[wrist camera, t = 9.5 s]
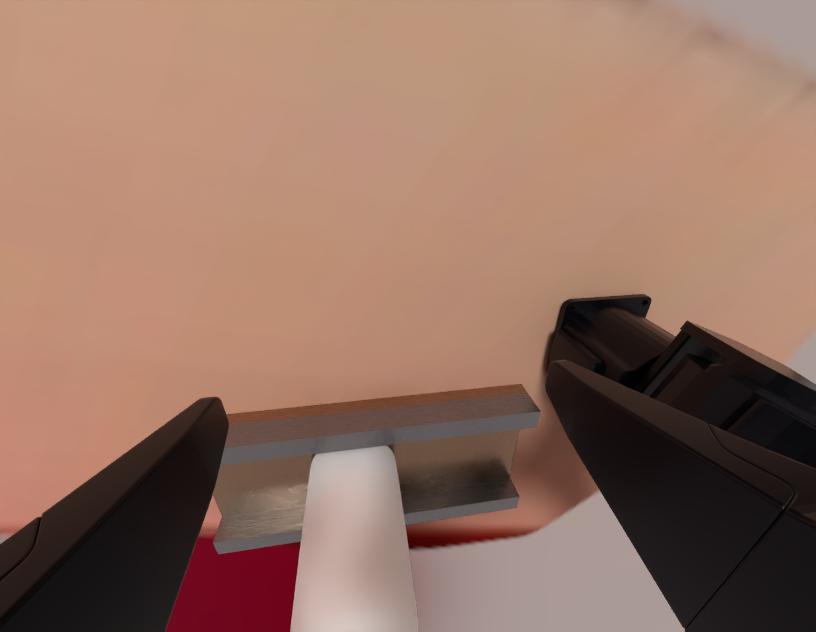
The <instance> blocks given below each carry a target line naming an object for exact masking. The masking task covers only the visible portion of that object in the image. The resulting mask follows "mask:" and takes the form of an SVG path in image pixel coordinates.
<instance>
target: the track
mask: <svg viewBox="0 0 816 632" xmlns="http://www.w3.org/2000/svg"><path fill="white" fill-rule="evenodd" d="M539 415H540V410H539V409H538V407H537V406H536V404H535V403H534V402H533V400H532V399H531V397H530V396H529V394H528V393H527V392H526V390H525V389H524V387H523V386H522V384H518V385H508V386H499V387H489V388H479V389H470V390H460V391H450V392H441V393H431V394H421V395H412V396H402V397H392V398H383V399H373V400H363V401H354V402H344V403H334V404H325V405H315V406H305V407H296V408H286V409H276V410H267V411H257V412H247V413H238V414H228V415H227V418H228V421H229V429H228V434H227V438H226V443H225V447H224V451H223V456H222V460H221V465H220V469H219V473H218V478H217V482H216V485H215V489H214V492H213V496H214V498H215V501H216V503H217V505H218V508H219V510H220V512H221V515H222V518H221V521H220V524H219V527H218V530H217V533H216V536H215V539H214V542H213V544H214V546H215V548H216V550H217V552H218V554H223V553H229V552H236V551H242V550H249V549H255V548H262V547H268V546H274V545H281V544H287V543H294V542H300V541H301V537H302V529H303V521H304V513H305V505H306V497H307V489H308V481H309V474H310V467H311V463H312V460H313V458H314V457H315V455H316V454H321V453H329V452H337V451H345V450H354V449H362V448H370V447H378V446H386V445H387V446H388V447H389V448H390V449H391V450H392V452H393V454H394V456H395V460H396V465H397V472H398V478H399V485H400V492H401V499H402V506H403V513H404V520H405V525H409V524H416V523H422V522H429V521H435V520H442V519H448V518H454V517H461V516H467V515H474V514H480V513H487V512H493V511H499V510H506V509H512V508H517V504H518V500H519V495H518V493H517V491H516V489H515V487H514V485H513V482H512V480H511V478H510V476H509V475H510V470H511V466H512V461H513V456H514V452H515V447H516V442H517V438H518V433H519V429H525V428H533V427H537V424H538V419H539Z"/></svg>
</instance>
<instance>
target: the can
mask: <svg viewBox="0 0 816 632" xmlns="http://www.w3.org/2000/svg"><path fill="white" fill-rule="evenodd" d="M418 628H419V627H418V614H417V605H416V598H415V591H414V583H413V576H412V569H411V562H410V555H409V548H408V541H407V534H406V526H405V520H404V513H403V506H402V499H401V492H400V485H399V478H398V472H397V465H396V460H395V456H394V454H393V452H392V450H391V449H390V448H389V447H388V446H387V445H386V446H378V447H370V448H362V449H354V450H345V451H337V452H329V453H321V454H316V455H315V457H314V458H313V460H312V463H311V467H310V474H309V481H308V489H307V497H306V505H305V513H304V521H303V529H302V537H301V546H300V554H299V562H298V570H297V579H296V587H295V596H294V604H293V612H292V621H291V631H290V632H418Z"/></svg>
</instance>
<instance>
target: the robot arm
mask: <svg viewBox="0 0 816 632" xmlns="http://www.w3.org/2000/svg"><path fill="white" fill-rule="evenodd" d="M642 301H643V302H642ZM650 304H651V298H650V297H649V296H647V295H644V294H639V295H624V296H610V297H595V298H580V299H569V300H567V301H565V302H564V303H563V306H562V309H561V313H560V317H559V322H558V326H557V330H556V332H555V336H554V340H553V345H552V349H551V353H550V357H549V363H548V367H547V379H546V384H545V387H546V392H547V394H548V396H549V398H550V400H551V403H552V405H553V407H554V409H555V411H556V413H557V415H558V417H559V419H560V422H561V424H562V426H563V428H564V430H565V432H566V434H567V436H568V438H569V440H570V441H571V443H572V445H573V447H574V448H575V450H576V452H577V453H578V455H579V457H580V458H581V460H582V462H583V463H584V465H585V466H586V468H587V470H588V471H589V473H590V475H591V476H592V478H593V480H594V481H595V483H596V485H597V486H598V488H599V490H600V491H601V493H602V495H603V496H604V498H605V499H606V501H607V503H608V504H609V506H610V508H611V509H612V511H613V513H614V514H615V516H616V518H617V519H618V521H619V523H620V524H621V526H622V527H623V529H624V531H625V532H626V534H627V536H628V537H629V539H630V541H631V542H632V544H633V546H634V547H635V549H636V551H637V552H638V554H639V556H640V557H641V559H642V560H643V562H644V564H645V565H646V567H647V569H648V571H649V572H650V574H651V575H652V577H653V579H654V580H655V582H656V584H657V585H658V587H659V589H660V590H661V592H662V594H663V595H664V597H665V599H666V600H667V602H668V604H669V605H670V607H671V609H672V610H673V612H674V613H675V615H676V617H677V618H678V620H679V622H680V623H681V625H682V627H683V628H685V632H816V384H814V383H813V382H811V381H810V380H808V379H806V378H805V377H803V376H802V375H800V374H798V373H797V372H795V371H793V370H792V369H790V368H789V367H787V366H785V365H783V364H781V363H779V362H777V361H775V360H773V359H771V358H769V357H767V356H765V355H763V354H761V353H759V352H757V351H755V350H753V349H751V348H749V347H747V346H745V345H743V344H741V343H739V342H737V341H735V340H732V339H730V338H728V337H725V336H723V335H720V334H718V333H716V332H713V331H711V330H709V329H706V328H704V327H701V326H699V325H697V324H694V323H692V322H690V321H686V322H685V324H684V325H683V326H682V327H681V328H680V329H681V331H680V332H679V334H678V335H677V336H676V337H675V336H674V335H672V334H670V333H669V332H667V331H665V330H664V329H662V328H660V327H659V326H657V325H655V324H654V323H652V322H650V321H649V320H647V319H646V318H645V317H646V314H647V312H648V309H649V306H650ZM571 305H572V307H571V308H570V309H569V307H570V306H571ZM228 429H229V421H228V418H227V415H226V412H225V410H224V407H223V404H222V401H221V400H220V398H218V397H207V398H201V399H199V400H197V401H196V402H195V403H193V404H192V405H191V406H189V407H188V408H187V409H185V410H184V411H182V412H181V413H180V414H178V415H177V416H176V417H174V418H173V419H171V420H170V421H169V422H167V423H166V424H165V425H163V426H162V427H160V428H159V429H158V430H156V431H155V432H154V433H152V434H151V435H150V436H148V437H147V438H145V439H144V440H143V441H141V442H140V443H139V444H137V445H136V446H134V447H133V448H132V449H130V450H129V451H128V452H126V453H125V454H123V455H122V456H121V457H119V458H118V459H117V460H115V461H114V462H113V463H111V464H110V465H108V466H107V467H106V468H104V469H103V470H102V471H100V472H99V473H97V474H96V475H95V476H93V477H92V478H91V479H89V480H88V481H86V482H85V483H84V484H82V485H81V486H80V487H78V488H77V489H75V490H74V491H73V492H71V493H70V494H69V495H67V496H66V497H65V498H63V499H62V500H60V501H59V502H58V503H56V504H55V505H54V506H52V507H51V508H49V509H48V510H47V511H45V512H44V513H43V514H42V516H41V517H37V518H36V519H34V520H33V521H31V522H30V523H29V524H27V525H26V526H25V527H23V528H22V529H21V530H19V531H18V532H16V533H15V534H14V535H12V536H11V537H10V538H8V539H7V540H5V541H4V542H3V543H1V544H0V632H165V630H166V627H167V624H168V622H169V619H170V616H171V613H172V610H173V607H174V604H175V602H176V599H177V596H178V593H179V590H180V587H181V584H182V581H183V579H184V576H185V573H186V570H187V567H188V564H189V561H190V558H191V555H192V553H193V550H194V547H195V544H196V541H197V538H198V535H199V533H200V530H201V527H202V524H203V521H204V518H205V515H206V512H207V510H208V507H209V504H210V501H211V498H212V495H213V492H214V489H215V485H216V482H217V478H218V473H219V469H220V465H221V460H222V456H223V451H224V447H225V443H226V438H227V434H228Z"/></svg>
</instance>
